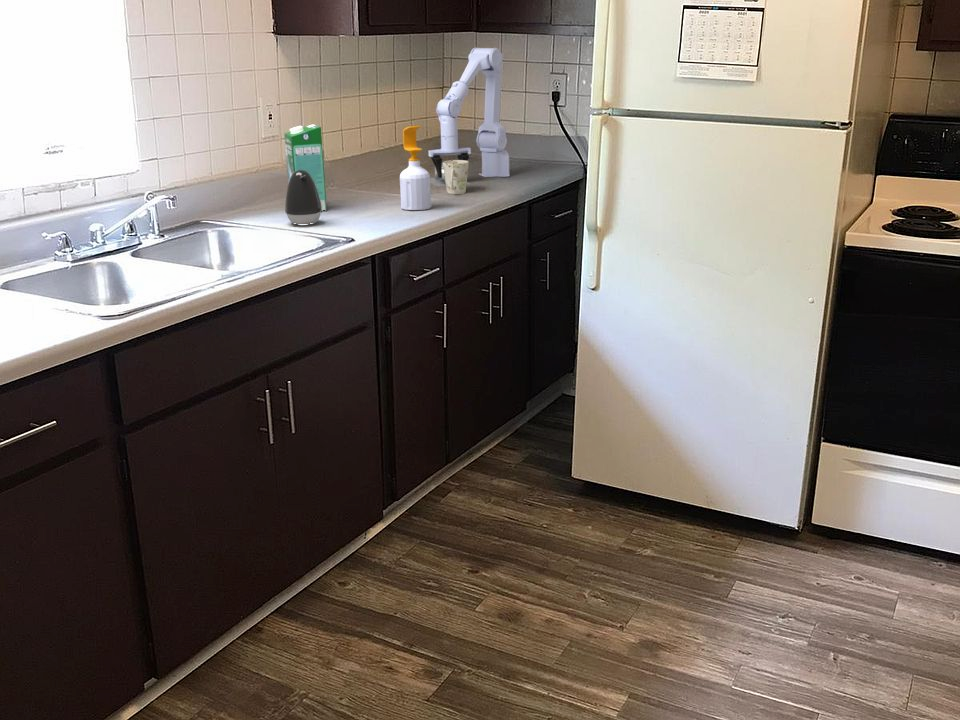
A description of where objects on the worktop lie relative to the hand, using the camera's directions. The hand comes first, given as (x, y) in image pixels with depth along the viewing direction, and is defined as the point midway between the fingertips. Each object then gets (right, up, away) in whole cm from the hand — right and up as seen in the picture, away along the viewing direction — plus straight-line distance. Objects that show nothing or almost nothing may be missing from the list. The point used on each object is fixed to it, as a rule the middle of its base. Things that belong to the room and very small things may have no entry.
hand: (450, 176), depth 332 cm
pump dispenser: (-40, -24, -55) cm, 72 cm away
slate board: (-2, -1, +6) cm, 6 cm away
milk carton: (-42, -17, -36) cm, 58 cm away
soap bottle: (-9, -17, -37) cm, 41 cm away
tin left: (-4, +2, +12) cm, 12 cm away
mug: (+2, -8, -15) cm, 17 cm away
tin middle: (-2, 0, +6) cm, 7 cm away
